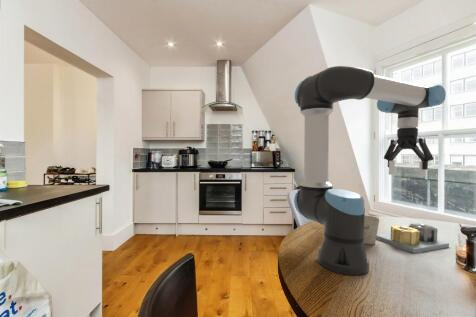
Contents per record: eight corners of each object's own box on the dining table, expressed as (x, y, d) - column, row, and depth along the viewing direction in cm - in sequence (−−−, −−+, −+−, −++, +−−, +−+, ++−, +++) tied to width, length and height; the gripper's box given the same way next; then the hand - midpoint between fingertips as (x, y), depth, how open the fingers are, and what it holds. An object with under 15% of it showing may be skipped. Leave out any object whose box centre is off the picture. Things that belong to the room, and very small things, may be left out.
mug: (381, 246, 93) (382, 221, 93) (347, 243, 96) (348, 218, 95) (374, 239, 101) (374, 215, 101) (342, 236, 104) (343, 213, 104)
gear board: (413, 253, 87) (414, 234, 87) (375, 238, 102) (375, 222, 102) (448, 247, 94) (449, 229, 94) (407, 234, 109) (408, 218, 109)
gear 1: (408, 246, 90) (408, 233, 90) (385, 238, 98) (386, 226, 98) (424, 243, 93) (424, 231, 93) (401, 236, 102) (401, 224, 101)
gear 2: (427, 243, 93) (427, 228, 93) (403, 235, 102) (403, 222, 102) (442, 241, 96) (443, 226, 96) (418, 233, 105) (418, 220, 105)
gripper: (445, 125, 96) (443, 178, 96) (387, 130, 119) (386, 173, 119) (433, 124, 93) (431, 178, 93) (376, 130, 117) (375, 173, 117)
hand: (405, 175), depth 106 cm, fingers open, 13 cm apart
